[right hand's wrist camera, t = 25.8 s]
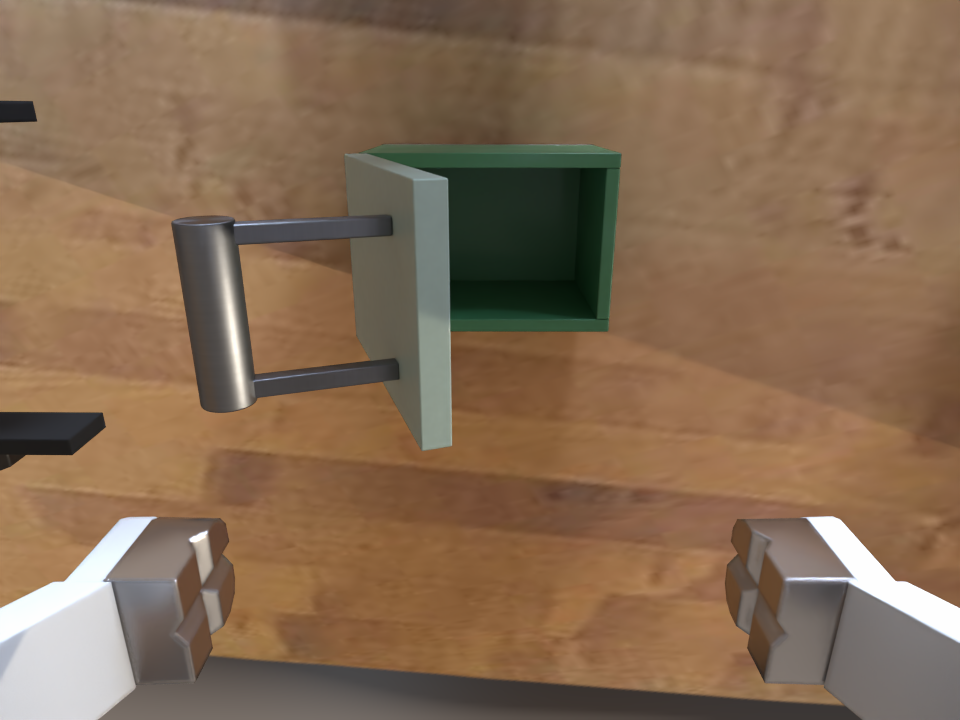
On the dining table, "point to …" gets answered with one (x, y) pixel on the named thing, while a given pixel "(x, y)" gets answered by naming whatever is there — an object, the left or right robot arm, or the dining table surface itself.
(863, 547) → the right robot arm
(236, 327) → the lid
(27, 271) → the dining table surface
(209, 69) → the dining table surface
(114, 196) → the dining table surface
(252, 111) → the dining table surface
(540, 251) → the chest
